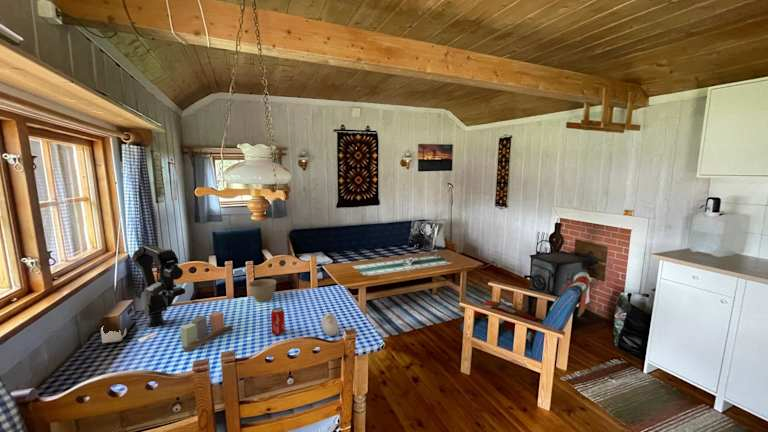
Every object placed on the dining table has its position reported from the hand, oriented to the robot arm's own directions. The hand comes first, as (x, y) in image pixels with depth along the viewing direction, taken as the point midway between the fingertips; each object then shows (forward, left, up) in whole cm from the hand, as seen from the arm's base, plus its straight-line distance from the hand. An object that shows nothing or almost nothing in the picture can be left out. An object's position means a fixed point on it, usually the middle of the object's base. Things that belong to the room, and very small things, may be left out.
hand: (168, 306), depth 156 cm
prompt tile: (+6, -7, -13) cm, 16 cm away
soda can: (+31, +44, -13) cm, 55 cm away
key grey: (+16, +12, -12) cm, 23 cm away
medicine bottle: (-6, -22, -13) cm, 26 cm away
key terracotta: (+15, +19, -12) cm, 27 cm away
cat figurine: (+44, +66, -13) cm, 80 cm away
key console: (+17, +12, -13) cm, 25 cm away
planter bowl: (-18, +49, -13) cm, 54 cm away
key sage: (+22, +7, -12) cm, 26 cm away
